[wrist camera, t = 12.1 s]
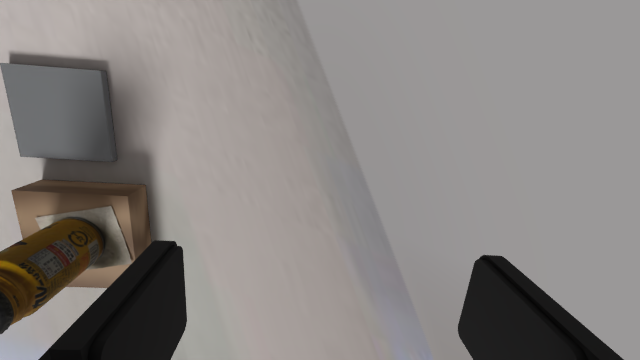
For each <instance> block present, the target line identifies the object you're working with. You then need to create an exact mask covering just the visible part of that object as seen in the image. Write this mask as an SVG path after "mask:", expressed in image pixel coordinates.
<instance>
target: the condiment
mask: <svg viewBox="0 0 640 360" xmlns="http://www.w3.org/2000/svg"><path fill="white" fill-rule="evenodd" d="M35 219H36V221H37V223H38V225H39V227H40V229H41V230H39V231H37V232H36V233H33V234H32V235H30V236H28V237H27V238H24V239H23V240H21V241H19V242H17V243H15V244H14V245H12V246H10V247H8V248H6V249H4V250H3V251H1V252H0V334H2V333H3V332H4V331H5V330H7V329H8V327H9V326H10V325H12V324H14V323H16V322H17V321H19V320H21V319H22V318H23V317H26V316H29V315H31V314H33V313H34V312H36V311H37V310H38V309H39V308H41V307H42V306H43V305H44V304H45V303H47V302H48V301H49V300H50V299H51V298H53V297H54V296H55V295H56V294H57V293H59V292H60V291H61V290H62V289H63V288H65V287H66V286H67V285H68V284H69V283H71V282H72V281H73V280H74V279H75V278H77V277H78V276H79V275H80V274H81V273H83V272H84V271H85V270H91V269H98V268H105V267H112V266H118V265H126V264H132V262H131V259H130V254H129V252H128V249H127V246H126V243H125V240H124V237H123V235H122V232H121V229H120V227H119V225H118V222H117V219H116V216H115V215H114V212H113V209H112V207H111V206H108V207H102V208H96V209H89V210H83V211H75V212H68V213H62V214H55V215H49V216H42V217H37V218H35ZM97 224H98V225H97Z"/></svg>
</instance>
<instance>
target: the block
mask: <svg viewBox="0 0 640 360" xmlns="http://www.w3.org/2000/svg"><path fill="white" fill-rule="evenodd" d="M12 195H13V200H14V204H15V208H16V212H17V217H18V221H19V225H20V229H21V234H22V238H23V239H24V238H27V237H28V236H30V235H32V234H33V233H36V232H37V231H39V230H41V229H40V227H39V225H38V223H37V221H36V219H35V218H37V217H42V216H49V215H55V214H62V213H68V212H75V211H83V210H89V209H96V208H102V207H108V206H111V207H112V209H113V212H114V215H115V216H116V219H117V222H118V225H119V227H120V229H121V232H122V235H123V237H124V240H125V243H126V246H127V249H128V252H129V254H130V259H131V262H132V263H133V262H134V261H135V260H136V259H137V258H138V256H139V255H140V254H141V253H142V252H143V251H144V250H145V249H146V248H147V247H148V246H149V245H150V244H151V235H150V224H149V214H148V204H147V194H146V185H135V184H116V183H97V182H78V181H59V180H40V181H37V182H34V183H31V184H28V185H26V186H23V187H20V188H17V189H14V190H12ZM97 225H98V224H97ZM130 265H131V264H126V265H118V266H112V267H105V268H98V269H91V270H85V271H84V272H83V273H81V274H80V275H79V276H78V277H77V278H75V279H74V280H73V281H72V282H71V283H69V284H68V285H67V286H66V287H94V288H108V287H109V286H110V285H111V284H112V283H113V282H114V281H115V280H116V279H117V278H118V277H119V276H120V275H121V274H122V273H123V272H124V271H125V270H126V269H127V268H128V267H129V266H130Z"/></svg>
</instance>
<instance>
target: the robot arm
mask: <svg viewBox="0 0 640 360" xmlns="http://www.w3.org/2000/svg"><path fill="white" fill-rule="evenodd" d="M186 322H187V314H186V297H185V280H184V263H183V249H182V247H181V246H177V244H176V242H175V241H153V242H152V243H151V244H150V245H149V246H148V247H147V248H146V249H145V250H144V251H143V252H142V253H141V254H140V255H139V256H138V258H137V259H136V260H135V261H134V262H133V263H132V264H131V265H130V266H129V267H128V268H127V269H126V270H125V271H124V272H123V273H122V274H121V275H120V276H119V277H118V278H117V279H116V280H115V281H114V282H113V283H112V284H111V285H110V286H109V287H108V288H107V289H106V290H105V292H104V293H103V294H102V295H101V296H100V297H99V298H98V299H97V300H96V301H95V302H94V303H93V304H92V305H91V306H90V307H89V308H88V309H87V310H86V311H85V312H84V313H83V314H82V315H81V316H80V317H79V318H78V319H77V320H76V321H75V322H74V323H73V324H72V326H71V327H70V328H69V329H68V330H67V331H66V332H65V333H64V334H63V335H62V336H61V337H60V338H59V339H58V340H57V341H56V342H55V343H54V344H53V345H52V346H51V347H50V348H49V349H48V350H47V351H46V352H45V353H44V355H43V356H42V357H41V358H40V359H39V360H171V358H172V355H173V353H174V351H175V349H176V347H177V345H178V343H179V341H180V339H181V337H182V335H183V333H184V331H185V327H186ZM458 333H459V337H460V339H461V340H462V342H463V344H464V345H465V347H466V348H467V350H468V352H469V353H470V355H471V356H472V358H473V360H623V359H622V358H621V357H620V356H619V355H618V354H616V353H615V352H614V351H613V350H612V349H611V348H609V347H608V346H607V345H606V344H605V343H603V342H602V341H601V340H600V339H599V338H598V337H596V336H595V335H594V334H593V333H592V332H591V331H590V330H588V329H587V328H586V327H585V326H584V325H582V324H581V323H580V322H579V321H578V320H577V319H575V318H574V317H573V316H572V315H571V314H570V313H568V312H567V311H566V310H565V309H564V308H562V307H561V306H560V305H559V304H558V303H557V302H555V301H554V300H553V299H552V298H551V297H550V296H549V295H547V294H546V293H545V292H544V291H543V290H542V289H540V288H539V287H538V286H537V285H536V284H534V283H533V282H532V281H531V280H530V279H529V278H527V277H526V276H525V275H524V274H523V273H522V272H521V271H519V270H518V269H517V268H516V267H515V266H513V265H512V264H511V263H510V262H509V261H508V260H506V259H505V258H504V257H502V256H491V255H490V256H489V255H483V256H481V257H480V258H479V259H478V260H476V261H475V263H474V267H473V271H472V274H471V279H470V282H469V286H468V290H467V294H466V298H465V301H464V306H463V309H462V313H461V317H460V321H459V324H458Z"/></svg>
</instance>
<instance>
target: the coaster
mask: <svg viewBox="0 0 640 360" xmlns="http://www.w3.org/2000/svg"><path fill="white" fill-rule="evenodd" d="M0 65H1V70H2V75H3V79H4V84H5V88H6V93H7V97H8V102H9V107H10V111H11V116H12V120H13V125H14V130H15V134H16V139H17V143H18V148H19V152H20V157H37V158H54V159H72V160H89V161H107V162H113V161H116V160H117V154H116V146H115V138H114V130H113V122H112V114H111V106H110V98H109V89H108V81H107V73H106V71H98V70H86V69H73V68H60V67H47V66H34V65H21V64H8V63H0Z"/></svg>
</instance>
